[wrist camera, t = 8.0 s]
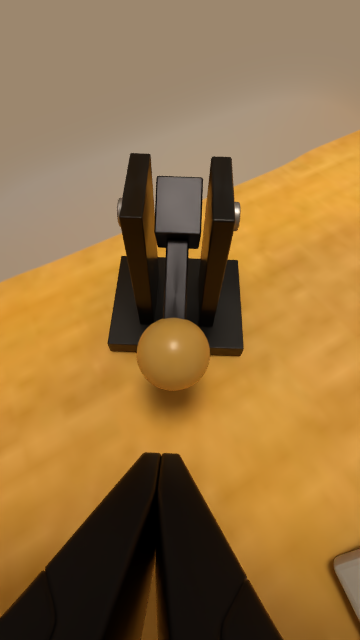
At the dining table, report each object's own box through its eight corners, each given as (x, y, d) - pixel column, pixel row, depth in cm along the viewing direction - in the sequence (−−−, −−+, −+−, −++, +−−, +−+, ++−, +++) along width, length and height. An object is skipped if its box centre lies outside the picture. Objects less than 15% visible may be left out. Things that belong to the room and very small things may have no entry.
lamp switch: (205, 386, 18) (212, 398, 14) (139, 383, 18) (129, 395, 14) (211, 203, 18) (219, 170, 15) (148, 201, 18) (140, 167, 15)
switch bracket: (240, 356, 23) (287, 251, 13) (110, 351, 23) (64, 242, 13) (235, 269, 26) (269, 138, 17) (123, 265, 26) (94, 132, 17)
